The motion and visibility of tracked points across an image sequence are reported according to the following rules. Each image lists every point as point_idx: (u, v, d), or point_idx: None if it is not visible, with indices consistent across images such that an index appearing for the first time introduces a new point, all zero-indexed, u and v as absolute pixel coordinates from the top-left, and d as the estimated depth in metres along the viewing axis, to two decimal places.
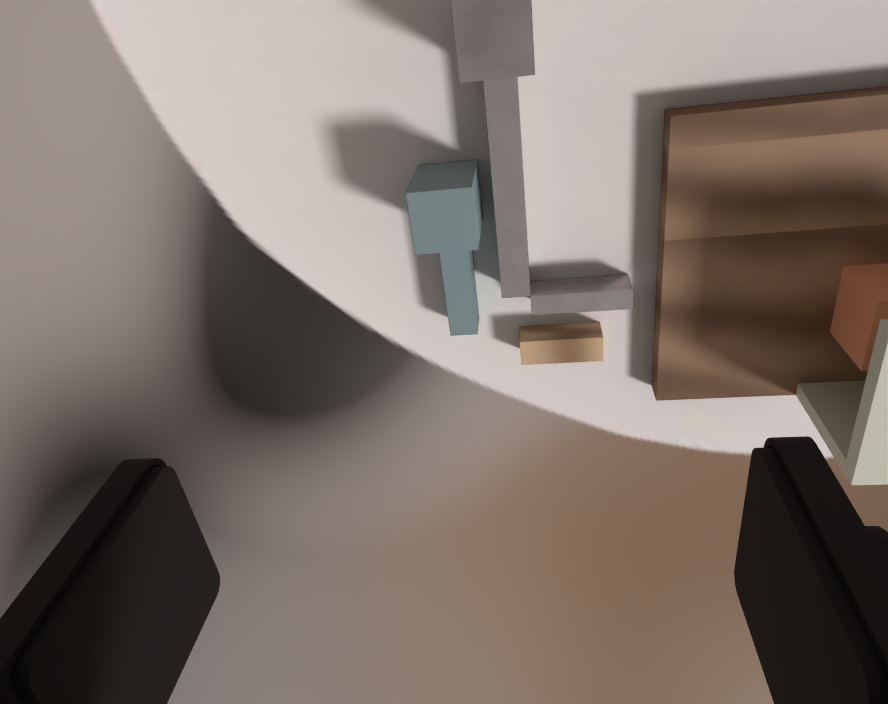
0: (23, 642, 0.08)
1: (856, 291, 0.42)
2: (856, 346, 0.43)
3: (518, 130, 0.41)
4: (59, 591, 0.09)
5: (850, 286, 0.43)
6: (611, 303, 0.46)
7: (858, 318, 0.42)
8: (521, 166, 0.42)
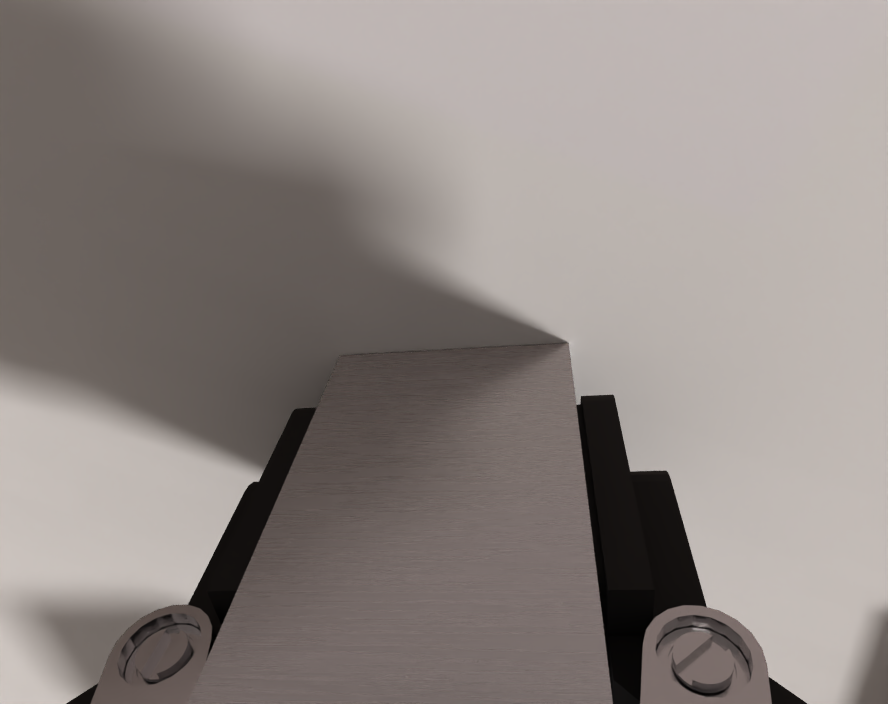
0: None
1: None
2: None
3: None
4: None
5: None
6: None
7: None
8: None
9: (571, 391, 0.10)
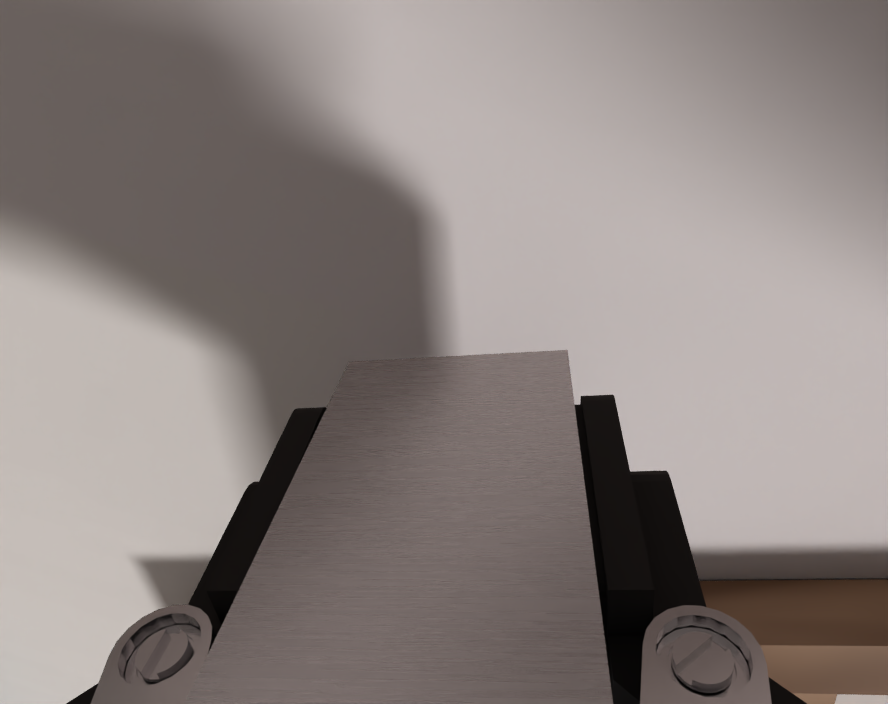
0: None
1: None
2: None
3: None
4: None
5: None
6: None
7: None
8: None
9: (569, 391, 0.11)
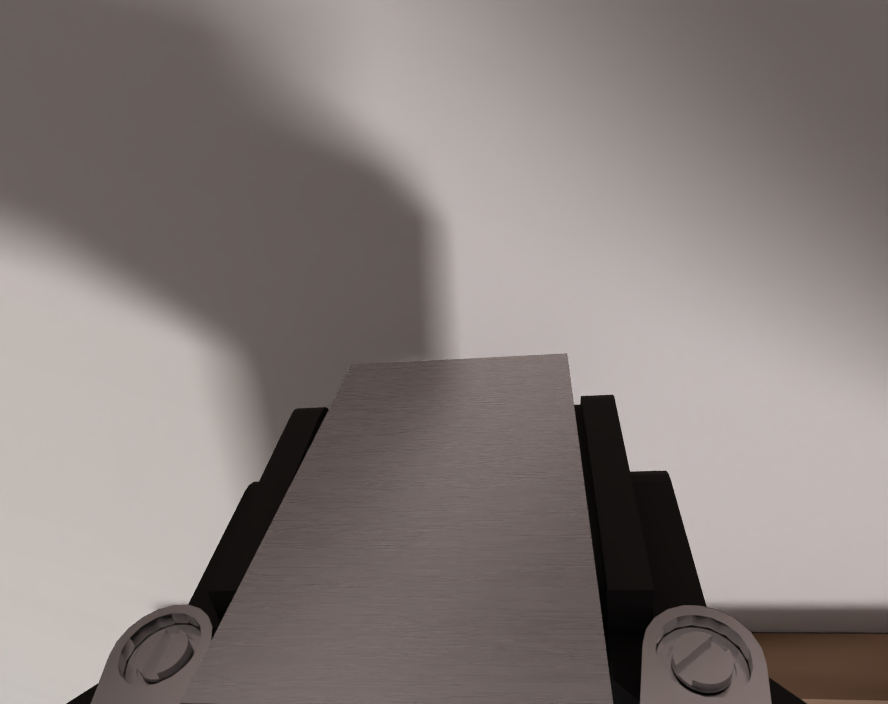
0: None
1: None
2: None
3: None
4: None
5: None
6: None
7: None
8: None
9: (569, 392, 0.11)
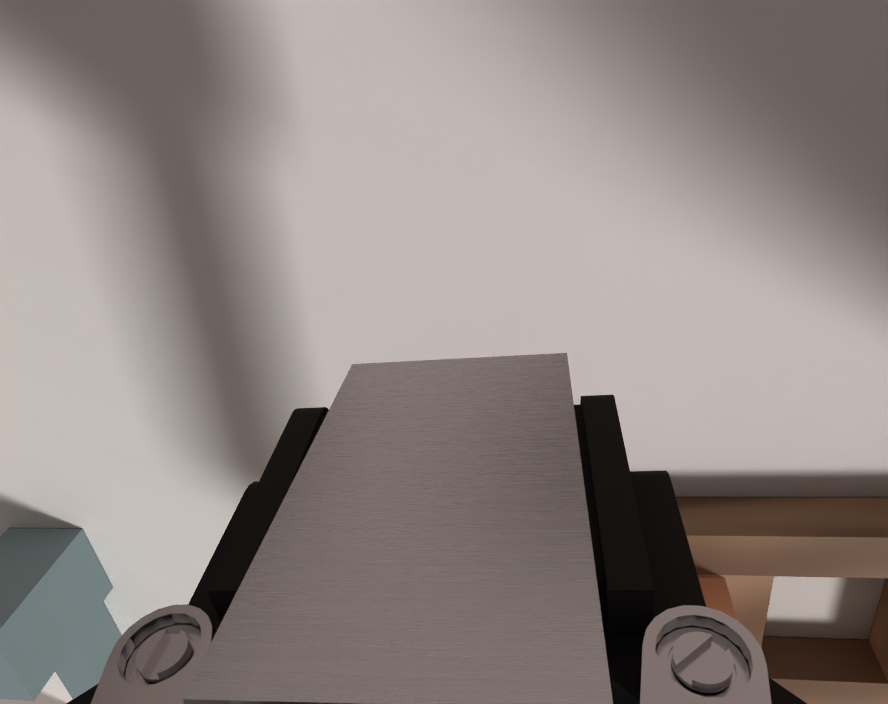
0: None
1: None
2: None
3: None
4: None
5: None
6: None
7: None
8: None
9: (569, 392, 0.11)
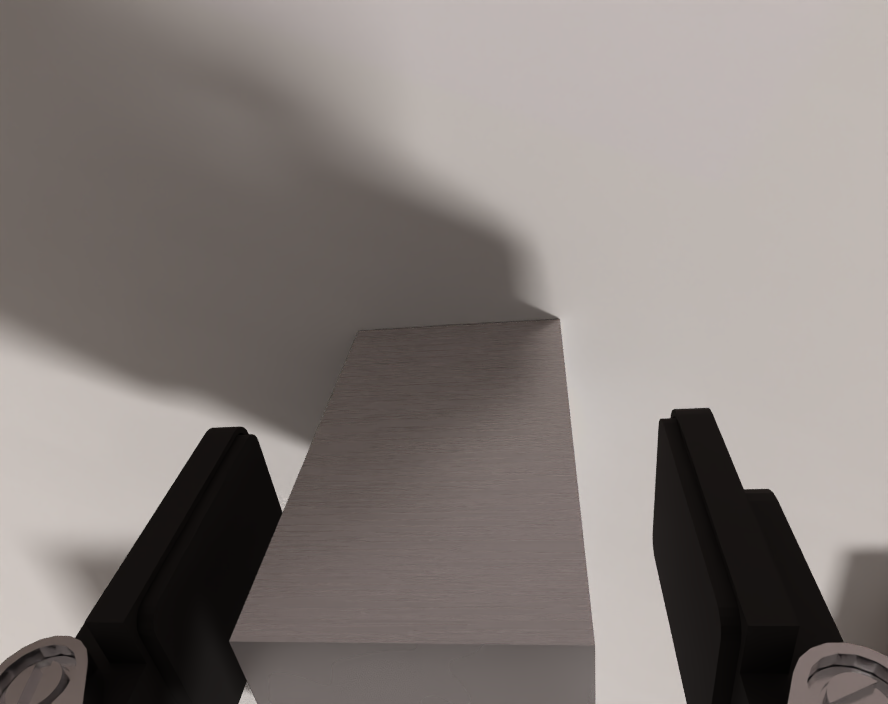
0: (144, 589, 0.08)
1: None
2: None
3: None
4: (168, 546, 0.09)
5: None
6: None
7: None
8: None
9: (561, 358, 0.12)
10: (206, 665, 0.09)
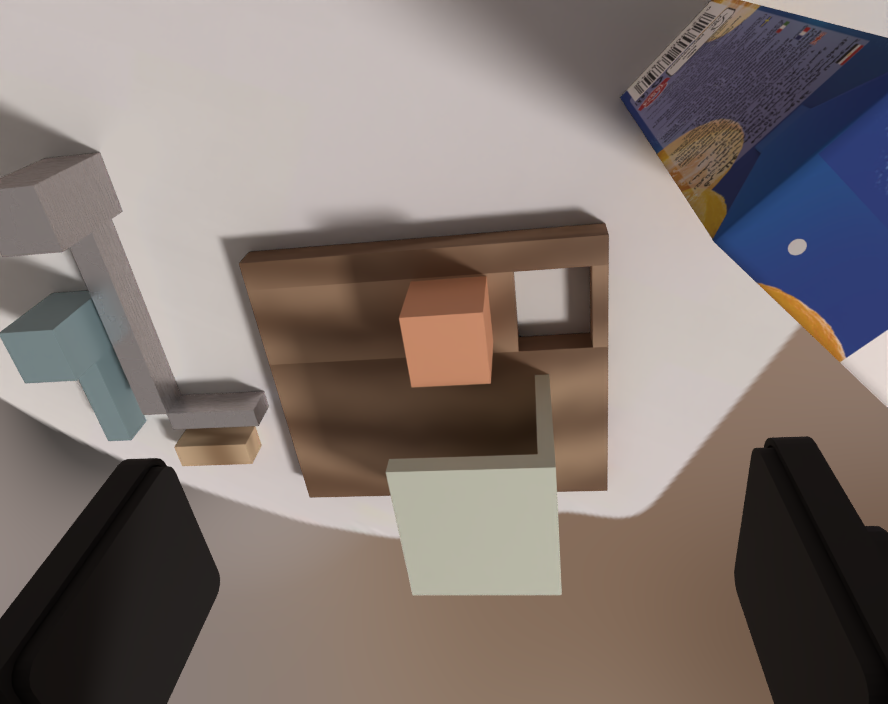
0: (23, 642, 0.08)
1: None
2: None
3: (109, 279, 0.45)
4: (58, 592, 0.09)
5: None
6: (238, 421, 0.51)
7: None
8: (122, 308, 0.46)
9: (87, 158, 0.42)
10: None
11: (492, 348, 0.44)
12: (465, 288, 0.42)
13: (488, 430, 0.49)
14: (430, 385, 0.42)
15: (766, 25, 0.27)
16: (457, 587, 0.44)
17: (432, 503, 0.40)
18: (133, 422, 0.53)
